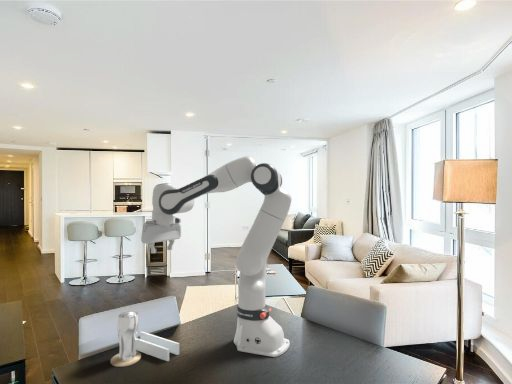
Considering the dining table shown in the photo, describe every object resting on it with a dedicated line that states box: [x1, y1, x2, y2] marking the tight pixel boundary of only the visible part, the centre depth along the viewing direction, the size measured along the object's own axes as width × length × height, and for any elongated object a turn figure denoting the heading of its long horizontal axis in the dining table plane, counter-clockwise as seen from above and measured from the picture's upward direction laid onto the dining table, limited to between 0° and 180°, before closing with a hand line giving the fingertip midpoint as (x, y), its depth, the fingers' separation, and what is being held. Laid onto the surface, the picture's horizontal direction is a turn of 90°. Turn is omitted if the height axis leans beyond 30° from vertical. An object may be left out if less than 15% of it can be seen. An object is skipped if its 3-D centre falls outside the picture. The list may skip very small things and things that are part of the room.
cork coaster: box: [110, 350, 142, 368], centre depth 107 cm, size 10×10×1 cm
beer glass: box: [117, 310, 140, 361], centre depth 108 cm, size 7×7×15 cm
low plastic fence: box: [136, 330, 180, 362], centre depth 113 cm, size 20×6×4 cm, turn 61°
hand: (161, 251), depth 132 cm, fingers open, 8 cm apart
